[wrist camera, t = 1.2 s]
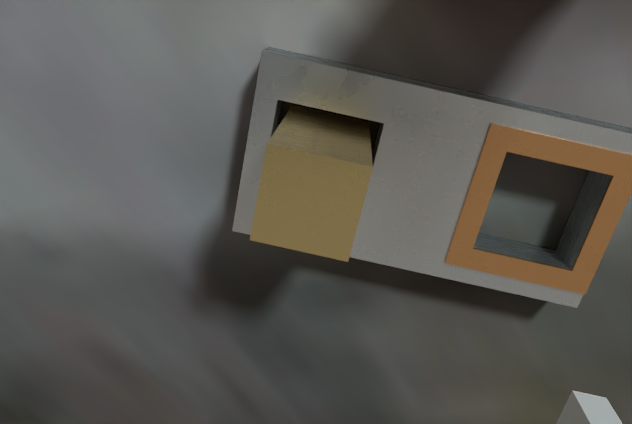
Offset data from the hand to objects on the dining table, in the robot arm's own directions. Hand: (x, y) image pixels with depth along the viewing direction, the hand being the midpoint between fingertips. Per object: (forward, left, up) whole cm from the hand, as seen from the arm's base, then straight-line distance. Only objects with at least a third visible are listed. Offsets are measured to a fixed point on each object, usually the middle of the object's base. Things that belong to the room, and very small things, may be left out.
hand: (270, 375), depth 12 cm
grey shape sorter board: (+6, 0, -20) cm, 21 cm away
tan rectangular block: (0, 0, -20) cm, 20 cm away
